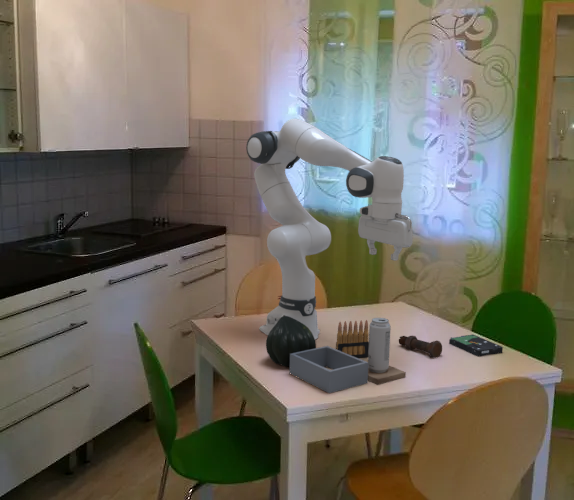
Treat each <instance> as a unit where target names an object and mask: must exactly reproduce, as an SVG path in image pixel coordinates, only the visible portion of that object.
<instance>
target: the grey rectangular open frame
mask: <svg viewBox="0 0 574 500" xmlns="http://www.w3.org/2000/svg"><path fill="white" fill-rule="evenodd" d="M290 373H291V374H293V375H294V376H293V375H292V376H293V377H295V376H297V377H299V378H300V380H301V379H303V380H304V382H305V381H306V383H307V382H308V383H307V384H309V383H310V384H309V385H311V384H312V386H313V385H314V387H315V386H316V388H317V387H318V388H317V389H320V390H322V391H323V392H325V393H328V394H331V393H335V392H339V391H342V390H347V389H350V388H353V387H358V386H362V385H365V384H368V383H369V382H368V361H366V360H364V359H362V358H356V357H354V356H351V355H349V354H346V353H344V352H341V351H339V350H337V349H336V348H334V347H331V346H329V345H326V346H325V345H324V346H321V347H316V348H315V349H310V350H306V351H301V352H296V353H292V354H290V365H289V374H290ZM291 374H290V375H291ZM297 377H296V378H297ZM299 378H298V379H299ZM303 380H302V381H303Z"/></svg>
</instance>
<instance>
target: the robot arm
mask: <svg viewBox="0 0 574 500" xmlns="http://www.w3.org/2000/svg"><path fill="white" fill-rule="evenodd" d="M245 147H246V150H245V151H246V155H247V157H248V158H249V159H250V160H251V161H252V162H254V163H257V164H259V165H258V166H257V167H256V168H255V170H254V173H253V176H254V181H255V184H256V188H257V191H258V193H259V195H260V198H261V200H262V202H263V204H264V207H265V208H266V210H267V213H268V214H269V216H270V218H271V219H272V220H274V221H275V222H278V223H279V224H280V225H281V226H278V227H276V228H274V229H272V230H270V232H268V235H267V239H266V245H267V249H268V252H269V253H270V255H271V256H272V257H274V258H275V259H276V260H277V262H278V265H279V268H280V271H281V278H282V281H281V282H282V283H281V284H282V288H281V289H282V290H281V291H282V294H281V295H278V296H277V300H279V302H278V305H277V306H276V307H275V308H274V309H272V310H270V311H269V312H268V313H267V315H266V321H265V323H266V324H263V325H261V326H260V327H259V331H260V332H261V333H264V335H266V336H268V334H269V332H270V331H271V330H272V328H273V327H274V326H275V325H276V323H277V322H278V320H279V319H280V318H281V317H282V316H283V315H285V316H289V317H291V318H293V319H296V320H297V321H299V322H301V323H303V324H304V325H305V326H307V327H308V328H309V330H310V331H311V332H312V334H313V336H314V339H315V340H317V339H318V338H319V334H321V333H320V331H321V330H320V329H319V327H318V325H319V324H318V323H319V322H318V313H317V310H316V307H317V305H316V304H317V296H316V293H315V292H316V274H315V272H314V271H313V270H312V269H310V268H309V267H308V264H307V261H306V256H311V255H316V254H317V255H318V254H320V253H322V252H324V251H326V250H327V249H328V248H329V247H330V245H331V243H332V233H331V230H330V229H329V227H328V226H327V225H326V224H324V223H321V222H319V220H317V219H316V218H315V217H314V216H312V215H311V214H310V213H309V211H308V210H307V209H306V208H305V207H304V206H303V204H302V203H301V201H300V200H299V198H298V196H297V194H296V192H295V190H294V189H293V186H292V185H291V182H290V181H289V178H288V177H287V175H286V170H289V169H290V170H291V169H292V168H293V167H294V165H295V164H296V163H297V162H298V161H299V160H300V159H301V160H303V162H306V163H308V164H311V165H313V166H316V167H317V166H318V167H334V168H339V169H344V170H346V171H348V173H347V174H346V180H345V186H346V189H347V191H348V193H349V194H350V195H351V196H353V197H355V198H358V199H364V198H371V199H372V200H371V204H370V205H366V206H362V207H360V208H359V214H360V217H359V220H358V230H357V232H358V235H359V236H358V237H359V238H362V239H365V240H366V244H367V247H368V249H369V255H371V256H372V255H373V256H374V255H377V254H378V253H377V251H378V250H377V249H378V248H376V247H375V243H376V242H379V243H381V244H387V245H391V246H393V250H394V251H393V253H391V254H390V260H392V261H399V255H400V253H401V252H402V250H403V249H404V248H410V247H411V246H412V245H413V242H414V241H413V239H414V237H413V236H414V234H413V233H414V232H413V226H412V225H413V221H412V220H411V218H410V216H408V215H404V214H402V211H403V210H402V208H403V198H402V193H403V191H404V181H405V179H404V176H405V175H404V173H405V172H404V165H403V162H402V161H401V160H400V159H398V158H397V157H391V156H386V155H381V156H378V157H376V158H375V159H374V160H370V159H368V157H365V156H364V155H362V154H360V153H358V152H356V151H354V150H352V149H351V148H348V147H347V146H346V145H344V144H342V143H340V142H338V141H337V140H336V139H334V138H333V137H332V136H329V135H328V134H326V133H325V132H323V131H322V130H320V129H319V128H318V127H316V126H314V125H313V124H310V123H309V122H306V121H304V120H302V119H299V118H291V119H289V120H286V121H285V123H283V124H282V127H281V128H280V130H279V131H273V130H268V131H267V130H265V131H263V130H262V131H258V132H255V133H253V134H251V135H250V136H249V137H248V139H247V142H246V146H245Z"/></svg>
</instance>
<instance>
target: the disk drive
mask: <svg viewBox="0 0 574 500" xmlns="http://www.w3.org/2000/svg"><path fill="white" fill-rule="evenodd" d="M448 341H449V343H448V344H449V345H451V346H453V347H455V348H458V349H460V350H462V351H464V352H466V353H469V354H471V355H473V356H475V357H479V358H480V357H485V356H492V355H498V354H502V353H503V349H504V348H503V346H501V345H499V344H497V343H495V342H492V341H489V340H487V339H485V338H482V337H480V336H478V335H475V334H467V335H461V336H456V337H455V336H454V337H450V338H449V340H448Z"/></svg>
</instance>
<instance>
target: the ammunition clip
mask: <svg viewBox="0 0 574 500" xmlns="http://www.w3.org/2000/svg"><path fill="white" fill-rule="evenodd" d="M353 323H354V324H353ZM335 349H337V350H339V351H341V352H344V353H346V354H349V355H351V356H354V357H356V358H359V359H368V349H369V323H368V320H367V319H366V320H365V322H364V324H363V321H362V320H360V322H359V326H358V321H357V320H355V321H354V322H352V320H350V321H349V323H347V321H346V320H345V321H344V323H343V326H342V322H341V321H339V322H338V326H337V334H336V344H335Z"/></svg>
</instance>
